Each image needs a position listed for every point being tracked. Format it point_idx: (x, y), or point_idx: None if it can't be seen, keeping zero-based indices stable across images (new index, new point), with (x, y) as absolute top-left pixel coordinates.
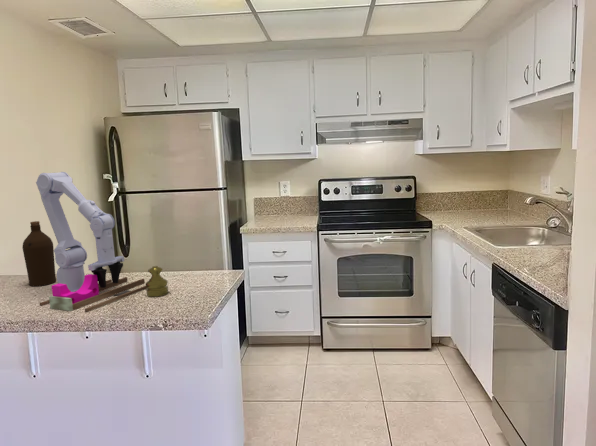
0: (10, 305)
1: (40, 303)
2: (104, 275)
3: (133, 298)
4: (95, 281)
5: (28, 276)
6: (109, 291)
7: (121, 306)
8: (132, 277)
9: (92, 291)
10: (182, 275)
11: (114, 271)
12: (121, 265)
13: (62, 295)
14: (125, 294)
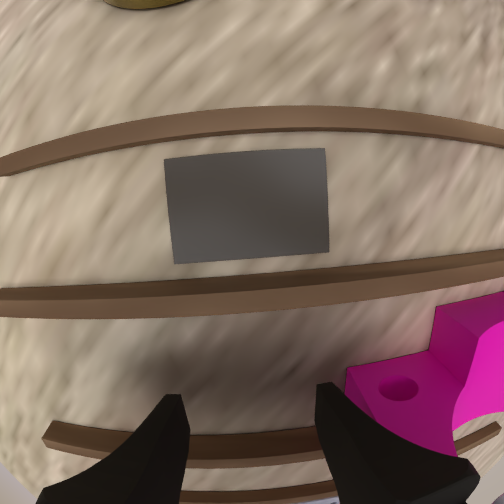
0: None
1: (499, 429)
2: (386, 450)
3: (320, 23)
4: (412, 438)
5: None
6: (368, 278)
7: (452, 13)
8: (14, 436)
9: (474, 331)
10: None
11: (161, 497)
12: (66, 501)
13: None
14: (323, 106)
